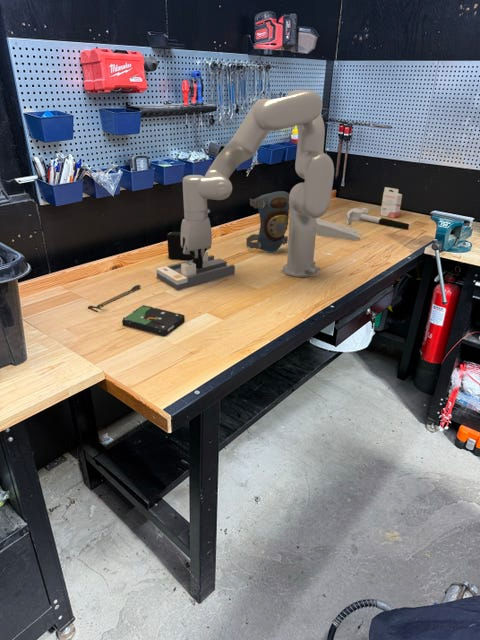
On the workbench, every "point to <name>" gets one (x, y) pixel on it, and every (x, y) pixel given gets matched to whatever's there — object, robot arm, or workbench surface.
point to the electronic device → (176, 247)
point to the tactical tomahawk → (114, 298)
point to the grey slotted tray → (203, 275)
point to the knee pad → (271, 221)
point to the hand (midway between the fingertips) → (198, 267)
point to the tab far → (205, 257)
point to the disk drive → (153, 320)
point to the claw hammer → (373, 218)
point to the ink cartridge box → (391, 203)
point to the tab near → (188, 269)
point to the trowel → (336, 230)
